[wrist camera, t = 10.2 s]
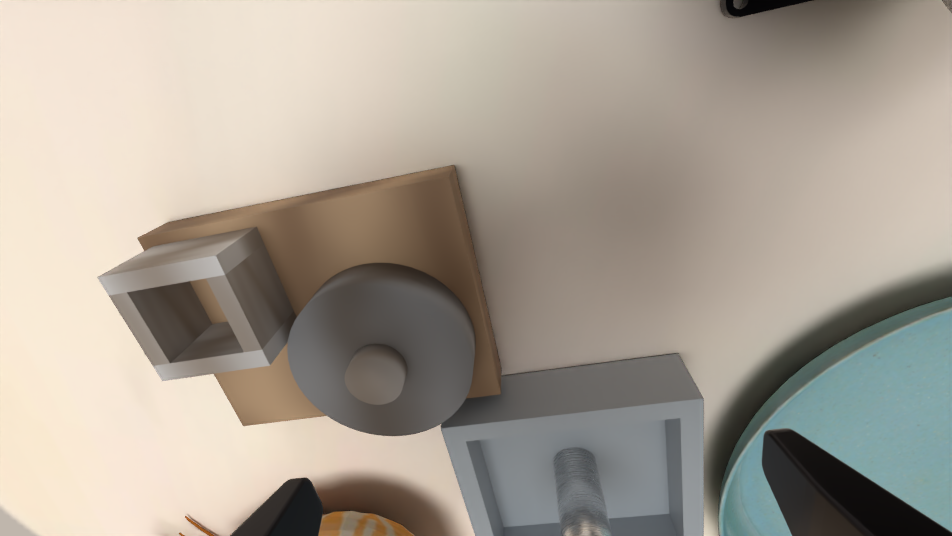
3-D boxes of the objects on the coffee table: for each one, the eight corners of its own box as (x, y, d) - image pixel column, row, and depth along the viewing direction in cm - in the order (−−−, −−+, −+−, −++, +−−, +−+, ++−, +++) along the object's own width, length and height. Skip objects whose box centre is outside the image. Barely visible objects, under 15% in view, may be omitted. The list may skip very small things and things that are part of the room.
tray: (678, 353, 23) (703, 398, 20) (682, 511, 28) (703, 566, 25) (448, 382, 25) (440, 428, 22) (491, 526, 30) (489, 579, 27)
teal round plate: (1229, 492, 25) (1327, 552, 22) (791, 620, 32) (820, 678, 30) (1169, 135, 18) (1304, 152, 15) (618, 407, 25) (633, 455, 22)
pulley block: (454, 165, 19) (438, 199, 15) (501, 368, 24) (500, 441, 20) (168, 222, 21) (78, 267, 17) (261, 400, 26) (210, 473, 22)
